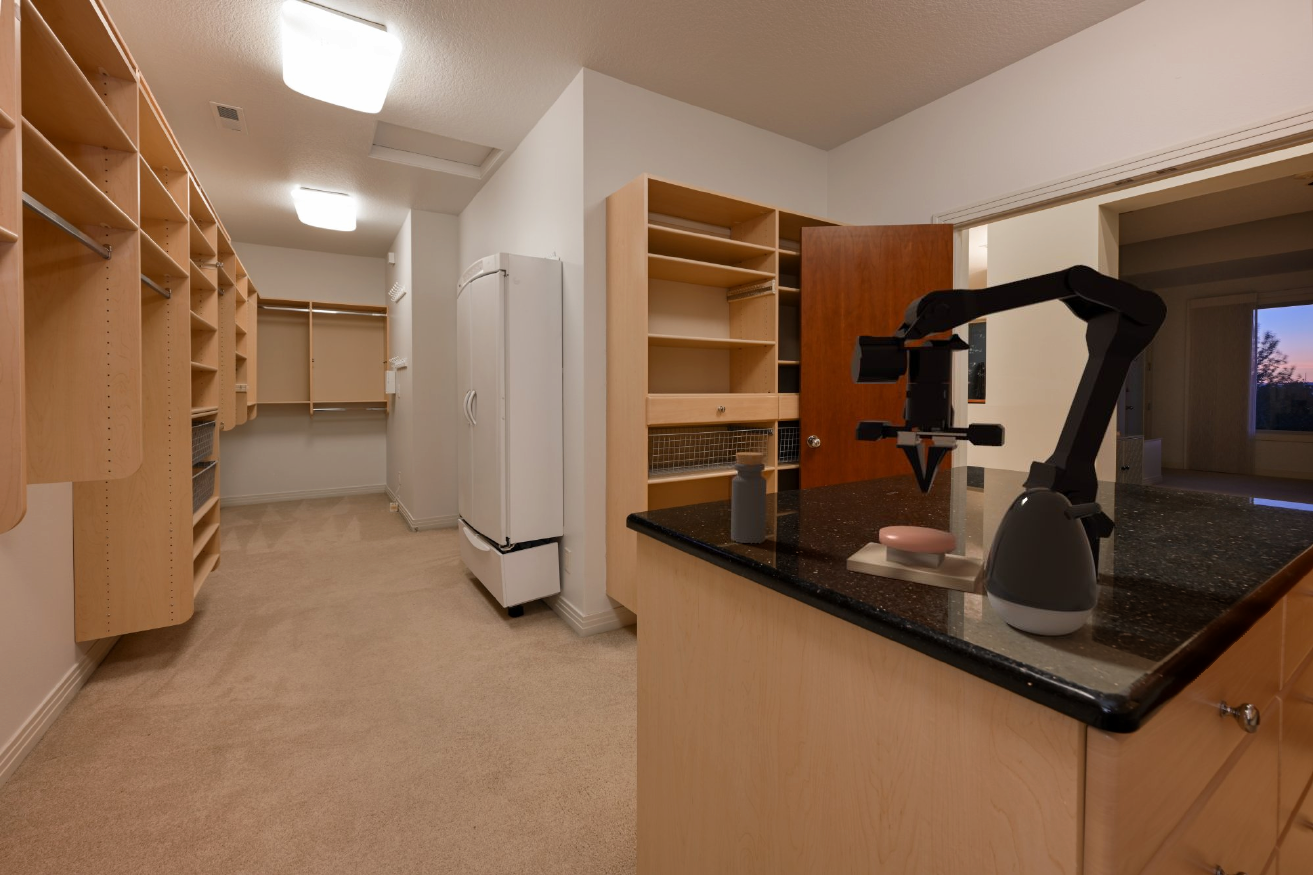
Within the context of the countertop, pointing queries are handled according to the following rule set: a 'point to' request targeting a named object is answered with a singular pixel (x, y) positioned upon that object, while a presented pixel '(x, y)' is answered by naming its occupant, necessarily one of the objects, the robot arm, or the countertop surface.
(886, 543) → the button
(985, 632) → the countertop surface
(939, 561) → the button base
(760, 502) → the bottle
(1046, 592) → the pump dispenser
